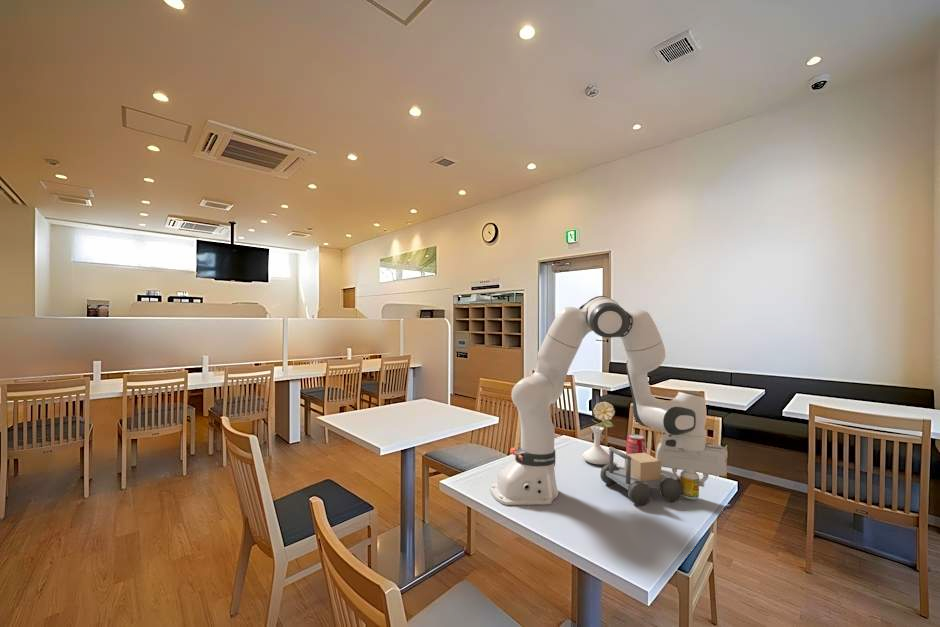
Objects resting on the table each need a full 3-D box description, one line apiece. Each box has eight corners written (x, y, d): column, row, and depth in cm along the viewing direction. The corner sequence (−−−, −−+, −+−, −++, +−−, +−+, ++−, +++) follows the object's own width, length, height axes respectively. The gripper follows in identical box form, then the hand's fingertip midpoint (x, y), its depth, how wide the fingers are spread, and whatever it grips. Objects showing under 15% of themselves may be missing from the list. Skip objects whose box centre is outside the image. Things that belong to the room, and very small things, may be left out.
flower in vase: (576, 461, 161) (577, 399, 161) (591, 454, 168) (592, 396, 168) (606, 471, 151) (607, 405, 151) (620, 463, 159) (622, 401, 159)
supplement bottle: (684, 490, 133) (684, 462, 133) (701, 496, 129) (701, 467, 129) (677, 495, 129) (677, 466, 129) (695, 501, 125) (695, 471, 125)
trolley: (631, 507, 122) (632, 460, 122) (600, 484, 139) (600, 443, 139) (682, 500, 127) (683, 456, 127) (646, 479, 144) (646, 440, 144)
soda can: (641, 463, 159) (642, 434, 159) (648, 470, 152) (648, 439, 152) (623, 462, 160) (624, 433, 160) (629, 469, 153) (629, 438, 153)
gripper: (725, 443, 128) (724, 486, 128) (655, 434, 136) (655, 474, 136) (729, 449, 122) (728, 494, 122) (656, 439, 130) (655, 481, 130)
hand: (689, 483), depth 129 cm, fingers closed on supplement bottle, 5 cm apart
